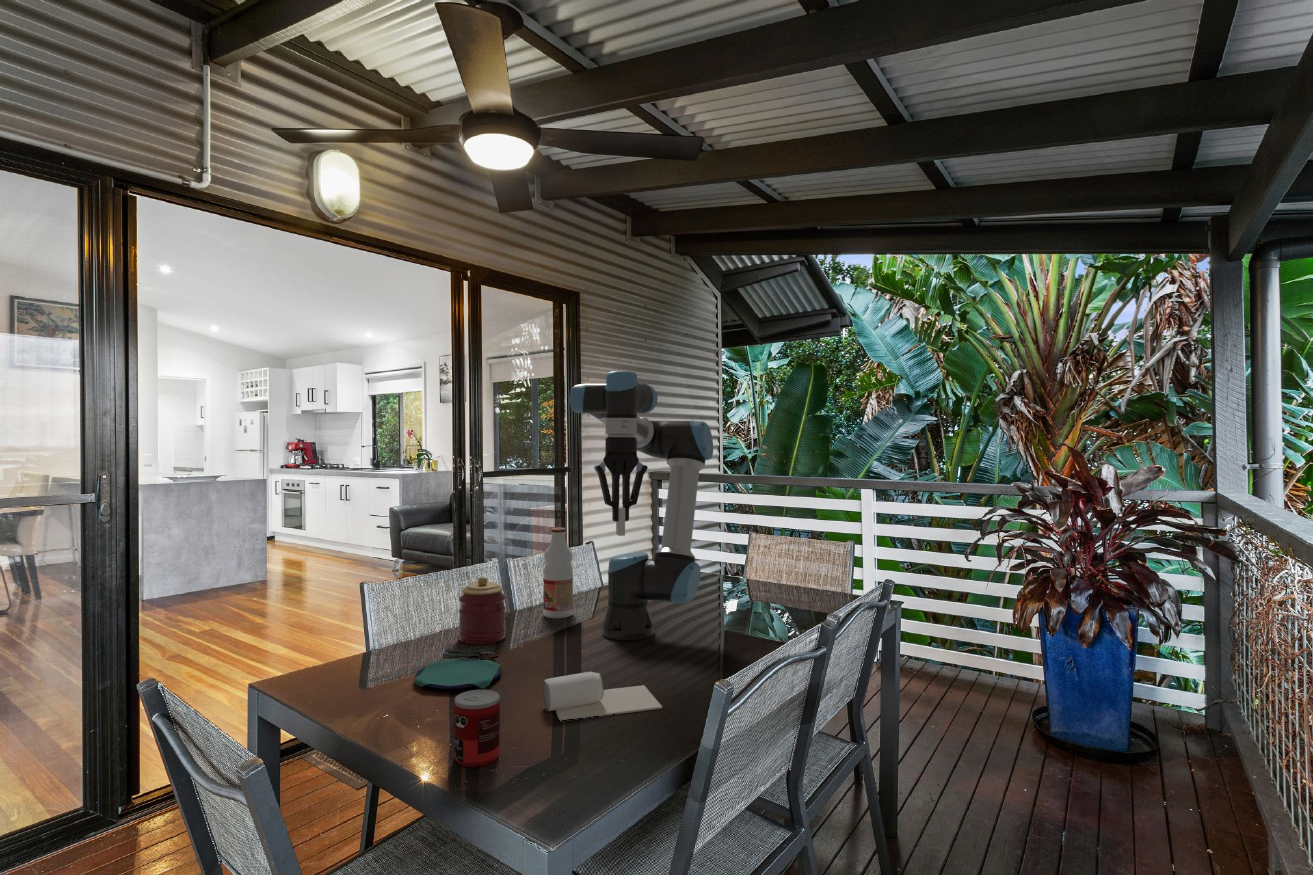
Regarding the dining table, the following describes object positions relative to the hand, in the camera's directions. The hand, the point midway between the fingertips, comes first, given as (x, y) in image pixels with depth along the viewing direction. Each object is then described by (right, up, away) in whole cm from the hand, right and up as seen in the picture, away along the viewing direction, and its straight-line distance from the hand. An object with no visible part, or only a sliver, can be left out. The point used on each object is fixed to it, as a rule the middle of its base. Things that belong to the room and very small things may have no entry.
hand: (620, 534), depth 163 cm
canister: (-41, -34, +31) cm, 62 cm away
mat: (-3, -35, -15) cm, 38 cm away
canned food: (-24, -35, -40) cm, 58 cm away
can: (-15, -31, -19) cm, 40 cm away
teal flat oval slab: (-39, -35, +5) cm, 52 cm away
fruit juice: (-23, -34, +57) cm, 70 cm away
